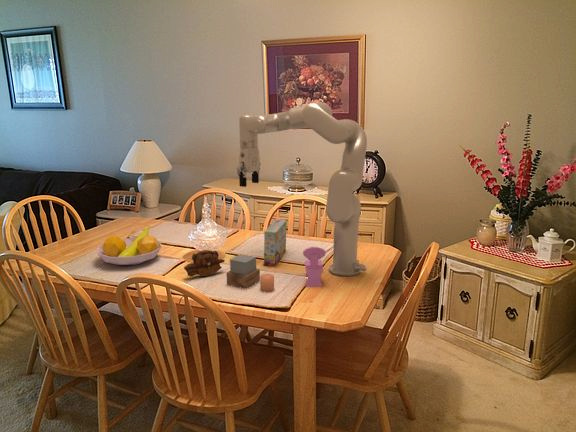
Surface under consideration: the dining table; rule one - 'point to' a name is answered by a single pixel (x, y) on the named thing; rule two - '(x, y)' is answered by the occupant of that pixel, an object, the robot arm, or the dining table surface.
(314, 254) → the pink tall piece
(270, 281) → the terracotta cylinder
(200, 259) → the wooden carving
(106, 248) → the fruit bowl
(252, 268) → the slate block
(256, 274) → the walnut slab
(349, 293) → the dining table surface
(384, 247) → the dining table surface
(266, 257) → the snack box
